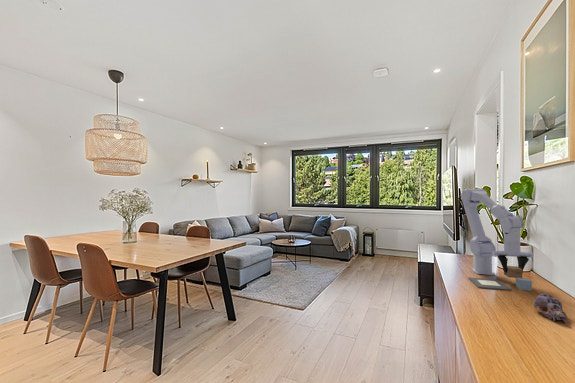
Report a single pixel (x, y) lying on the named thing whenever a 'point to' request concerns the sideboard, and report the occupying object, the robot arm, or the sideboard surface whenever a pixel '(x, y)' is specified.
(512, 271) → the walnut block
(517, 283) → the blue block
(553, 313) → the skull
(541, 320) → the sideboard surface
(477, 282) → the mat
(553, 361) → the sideboard surface
